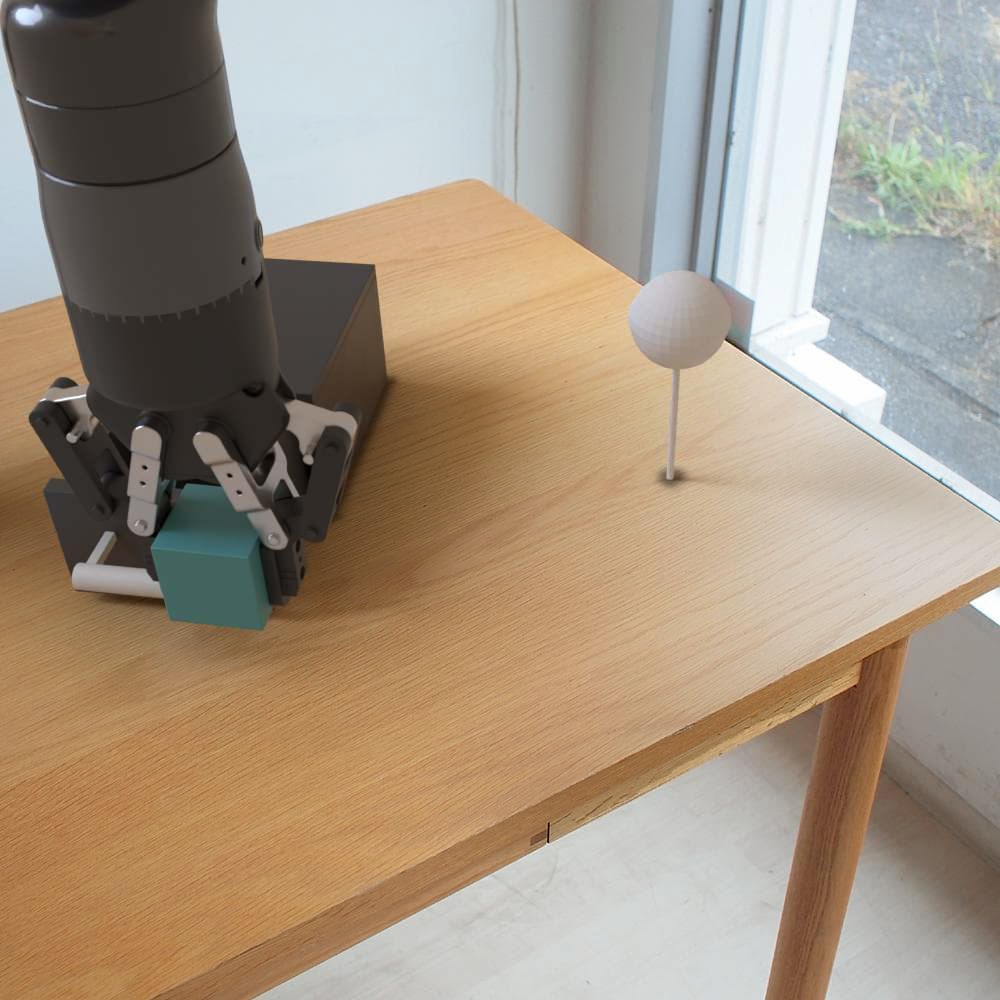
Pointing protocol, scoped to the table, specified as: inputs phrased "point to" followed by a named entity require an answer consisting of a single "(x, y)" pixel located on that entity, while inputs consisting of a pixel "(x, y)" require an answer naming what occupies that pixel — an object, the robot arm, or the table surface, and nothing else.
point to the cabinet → (329, 333)
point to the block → (211, 562)
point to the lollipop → (679, 329)
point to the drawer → (126, 532)
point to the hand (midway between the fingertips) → (231, 586)
